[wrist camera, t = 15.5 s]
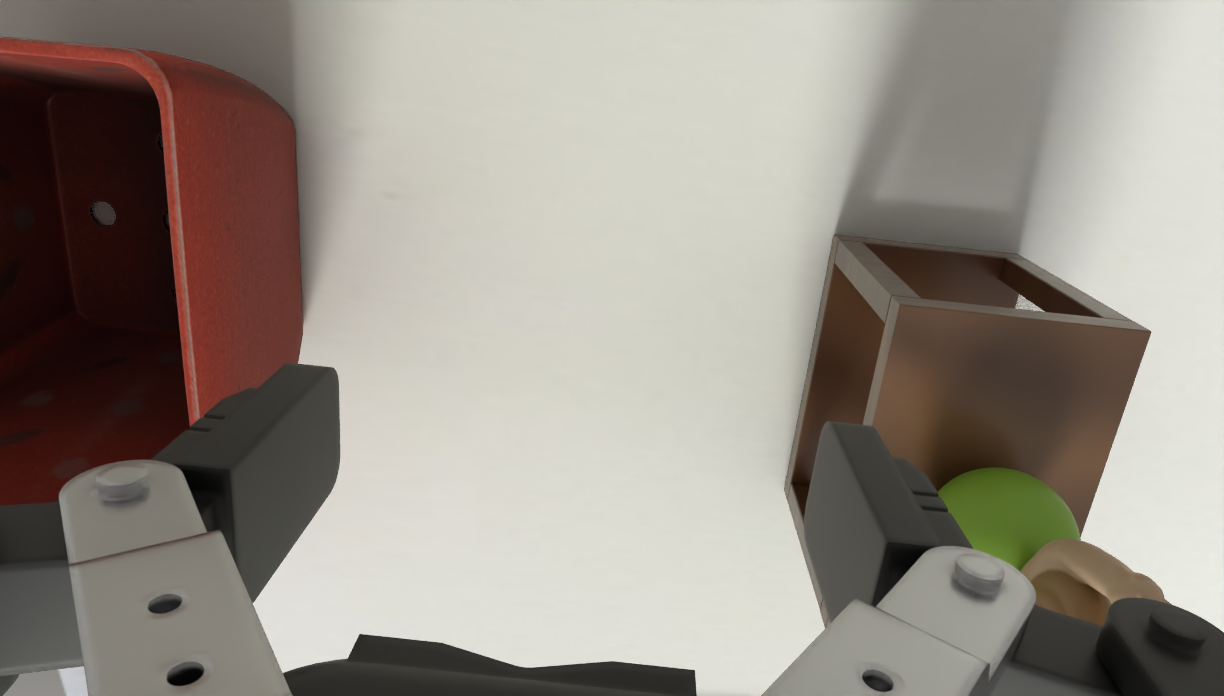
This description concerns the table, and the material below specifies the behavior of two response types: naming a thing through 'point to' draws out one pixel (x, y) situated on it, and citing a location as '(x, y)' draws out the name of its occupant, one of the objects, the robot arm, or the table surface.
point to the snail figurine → (1041, 542)
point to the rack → (964, 369)
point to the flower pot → (134, 254)
